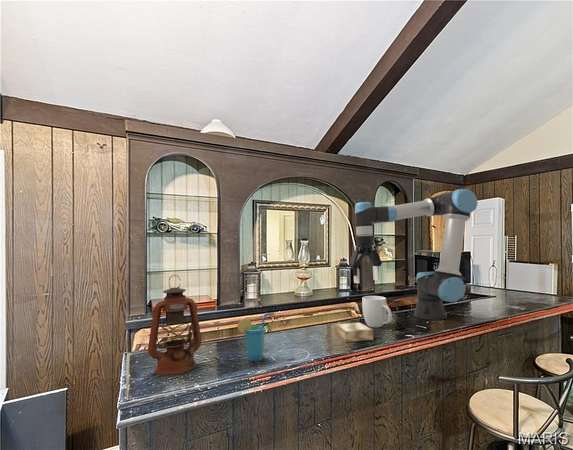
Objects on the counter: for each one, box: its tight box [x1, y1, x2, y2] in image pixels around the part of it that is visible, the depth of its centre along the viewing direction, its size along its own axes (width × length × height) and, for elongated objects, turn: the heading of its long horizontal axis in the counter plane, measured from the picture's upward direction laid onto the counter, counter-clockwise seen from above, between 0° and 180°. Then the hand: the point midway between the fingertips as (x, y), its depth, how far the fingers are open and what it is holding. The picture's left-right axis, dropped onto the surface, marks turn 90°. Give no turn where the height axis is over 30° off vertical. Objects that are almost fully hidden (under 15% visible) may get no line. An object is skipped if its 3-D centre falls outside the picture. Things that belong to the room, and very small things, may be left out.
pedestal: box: [334, 322, 374, 343], centre depth 134 cm, size 12×12×4 cm
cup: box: [236, 312, 275, 362], centre depth 111 cm, size 14×8×15 cm, turn 123°
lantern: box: [147, 274, 203, 376], centre depth 105 cm, size 17×13×30 cm
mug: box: [361, 295, 393, 328], centre depth 148 cm, size 15×11×13 cm
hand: (366, 281), depth 147 cm, fingers open, 13 cm apart
